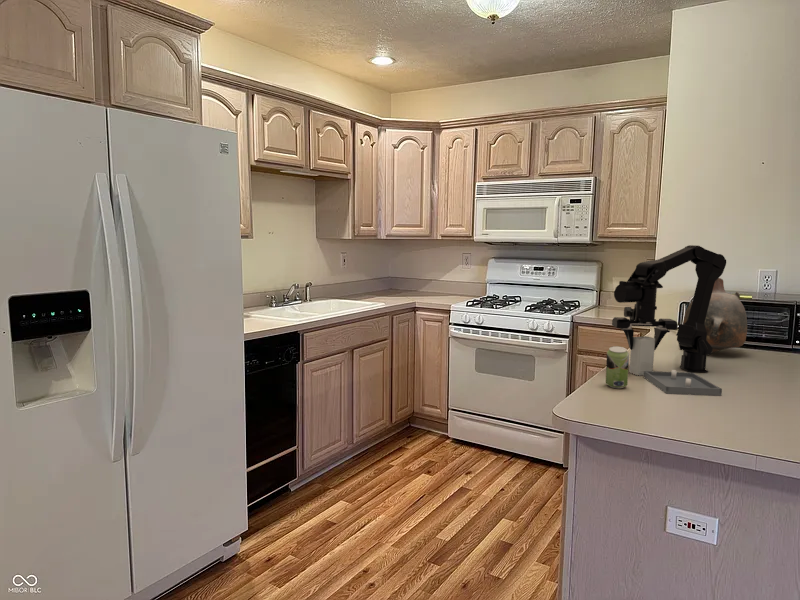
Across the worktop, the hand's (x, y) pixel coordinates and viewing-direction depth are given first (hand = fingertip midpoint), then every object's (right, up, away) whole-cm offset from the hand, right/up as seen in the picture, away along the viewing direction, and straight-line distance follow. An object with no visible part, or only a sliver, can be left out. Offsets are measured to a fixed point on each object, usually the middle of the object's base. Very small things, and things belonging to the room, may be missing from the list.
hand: (642, 349), depth 174 cm
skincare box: (0, -8, +1) cm, 8 cm away
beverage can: (-15, -10, -15) cm, 23 cm away
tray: (+6, -10, -12) cm, 17 cm away
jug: (+43, -5, +35) cm, 56 cm away
